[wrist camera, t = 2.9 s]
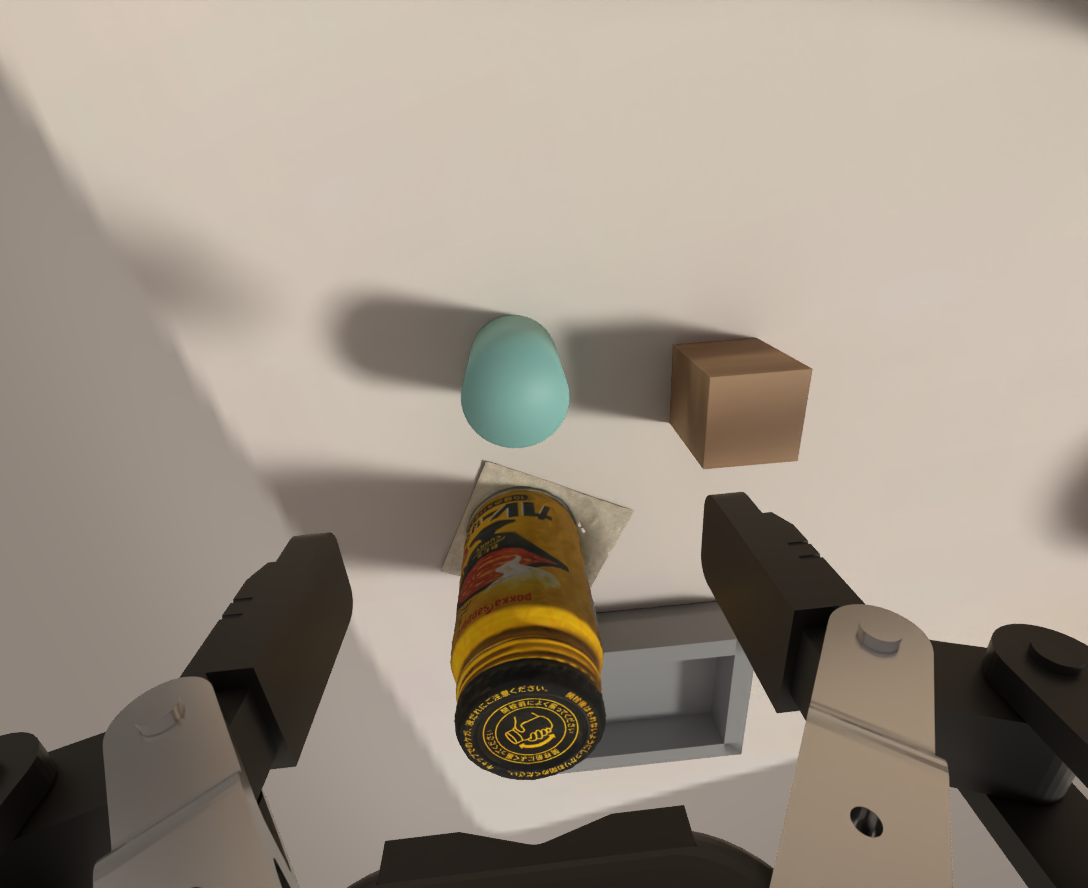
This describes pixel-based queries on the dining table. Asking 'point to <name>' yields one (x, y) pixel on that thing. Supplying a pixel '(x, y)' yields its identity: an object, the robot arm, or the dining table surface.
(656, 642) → the collection tray
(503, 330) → the teal cylinder
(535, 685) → the condiment
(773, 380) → the walnut block
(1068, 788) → the robot arm
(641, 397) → the dining table surface
